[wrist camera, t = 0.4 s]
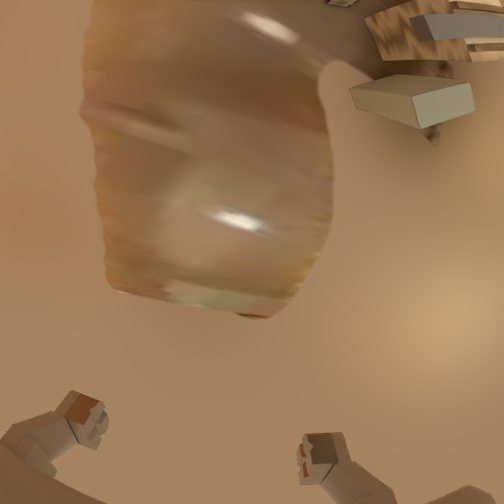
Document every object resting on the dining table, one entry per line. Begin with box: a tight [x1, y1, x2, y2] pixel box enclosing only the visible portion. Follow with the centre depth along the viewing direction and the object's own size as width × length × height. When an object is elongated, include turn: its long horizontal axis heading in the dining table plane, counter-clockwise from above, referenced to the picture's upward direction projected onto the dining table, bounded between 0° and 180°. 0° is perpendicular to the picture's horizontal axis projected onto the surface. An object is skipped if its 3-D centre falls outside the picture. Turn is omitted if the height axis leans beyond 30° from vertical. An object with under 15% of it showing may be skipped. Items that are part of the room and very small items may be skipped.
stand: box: [364, 0, 504, 62], centre depth 24 cm, size 10×14×28 cm
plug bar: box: [409, 14, 504, 42], centre depth 14 cm, size 3×22×3 cm, turn 116°
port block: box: [349, 74, 475, 129], centre depth 34 cm, size 4×12×22 cm, turn 116°
